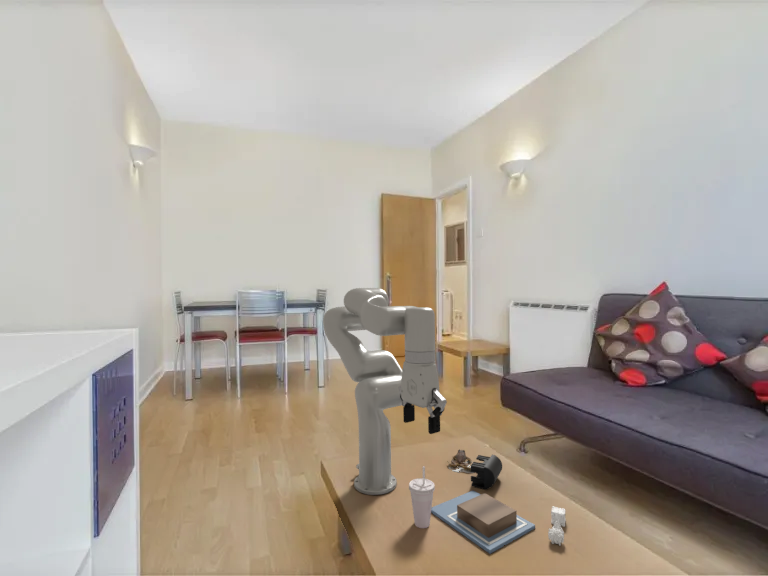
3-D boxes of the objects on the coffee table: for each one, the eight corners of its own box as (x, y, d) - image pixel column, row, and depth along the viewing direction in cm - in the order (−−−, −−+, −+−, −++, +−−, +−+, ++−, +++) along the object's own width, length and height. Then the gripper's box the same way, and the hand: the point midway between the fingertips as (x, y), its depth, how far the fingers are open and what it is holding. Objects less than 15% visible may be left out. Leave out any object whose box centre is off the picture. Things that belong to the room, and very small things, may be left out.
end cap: (495, 493, 110) (494, 469, 110) (470, 487, 114) (470, 464, 114) (502, 478, 119) (502, 456, 119) (479, 473, 122) (479, 451, 122)
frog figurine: (443, 457, 135) (443, 446, 135) (479, 460, 133) (479, 449, 133) (441, 472, 124) (441, 460, 124) (480, 476, 121) (480, 463, 121)
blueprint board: (429, 511, 101) (429, 507, 101) (473, 493, 110) (473, 489, 110) (489, 553, 85) (489, 549, 85) (535, 528, 94) (535, 524, 94)
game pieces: (551, 518, 98) (551, 505, 98) (566, 521, 97) (566, 508, 97) (547, 545, 88) (547, 531, 88) (564, 549, 86) (563, 535, 86)
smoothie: (434, 533, 92) (433, 473, 92) (407, 530, 94) (406, 471, 94) (436, 517, 99) (435, 461, 99) (410, 514, 100) (410, 460, 100)
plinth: (457, 517, 97) (457, 505, 97) (484, 504, 103) (484, 493, 103) (488, 538, 89) (488, 524, 89) (516, 523, 94) (516, 510, 94)
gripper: (387, 354, 102) (388, 420, 101) (431, 364, 87) (432, 441, 87) (410, 351, 106) (411, 415, 105) (456, 360, 91) (457, 433, 91)
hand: (421, 426), depth 96 cm, fingers open, 9 cm apart
